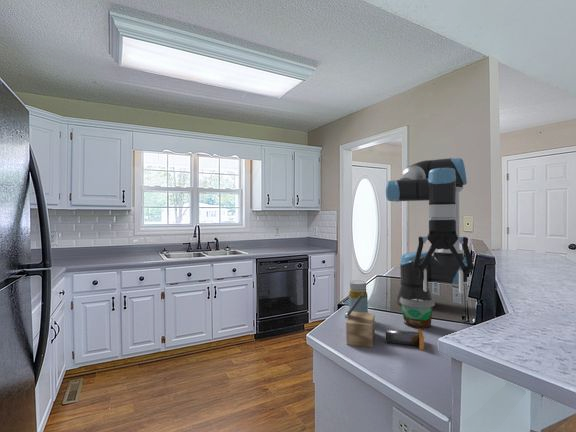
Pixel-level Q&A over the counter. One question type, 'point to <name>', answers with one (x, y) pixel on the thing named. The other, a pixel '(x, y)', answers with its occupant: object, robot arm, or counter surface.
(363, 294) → the keeper
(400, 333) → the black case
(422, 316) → the food container
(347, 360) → the counter surface
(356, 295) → the bottle
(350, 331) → the block
